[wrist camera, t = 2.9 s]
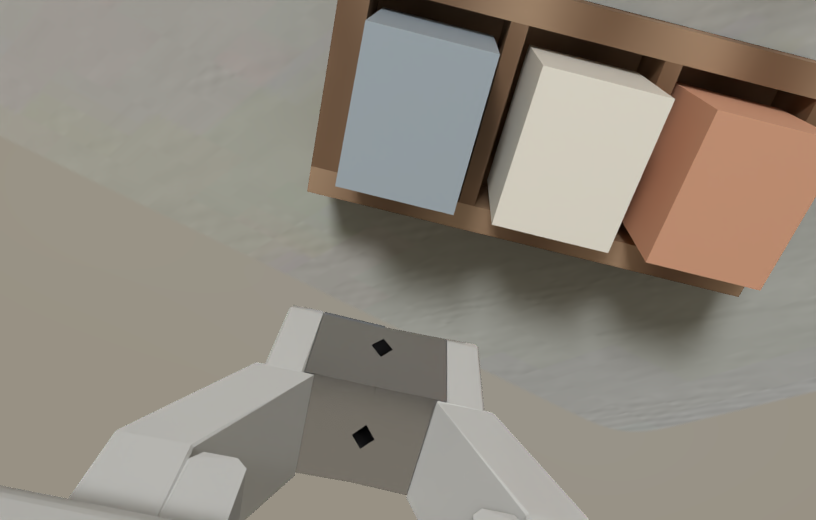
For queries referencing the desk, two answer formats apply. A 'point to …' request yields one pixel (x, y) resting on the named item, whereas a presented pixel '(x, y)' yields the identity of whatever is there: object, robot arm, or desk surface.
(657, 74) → the wooden compartment tray
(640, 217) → the terracotta key
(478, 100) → the slate key
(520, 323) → the desk surface
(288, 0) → the desk surface
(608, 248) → the ivory key
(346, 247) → the desk surface
